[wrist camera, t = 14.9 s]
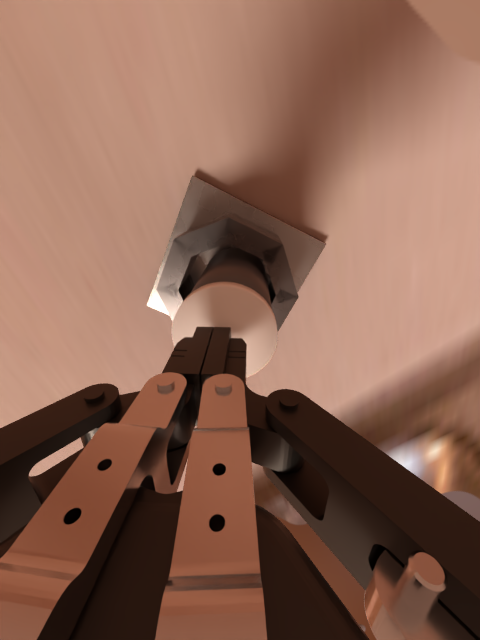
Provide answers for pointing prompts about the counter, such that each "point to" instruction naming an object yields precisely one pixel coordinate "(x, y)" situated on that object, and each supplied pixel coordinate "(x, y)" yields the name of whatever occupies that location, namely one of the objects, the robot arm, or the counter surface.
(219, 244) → the hex nut base plate
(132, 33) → the counter surface
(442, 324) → the counter surface
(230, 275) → the grey round peg
